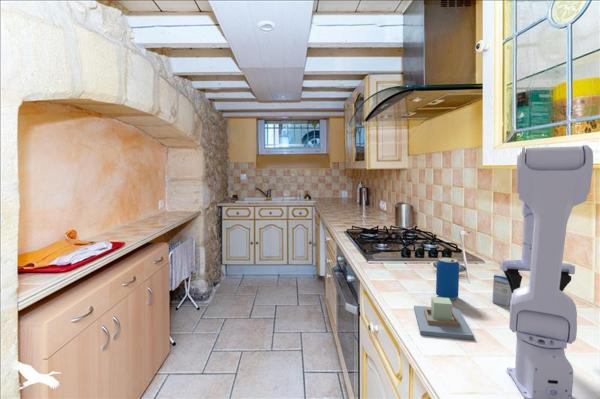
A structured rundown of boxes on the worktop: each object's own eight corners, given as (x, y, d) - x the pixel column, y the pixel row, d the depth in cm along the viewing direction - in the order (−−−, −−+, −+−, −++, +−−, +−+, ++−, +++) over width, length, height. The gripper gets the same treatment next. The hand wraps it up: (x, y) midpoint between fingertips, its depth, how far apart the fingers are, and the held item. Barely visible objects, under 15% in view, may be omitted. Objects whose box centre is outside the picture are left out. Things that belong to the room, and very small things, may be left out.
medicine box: (497, 295, 110) (498, 269, 109) (513, 298, 107) (514, 271, 106) (492, 303, 104) (493, 274, 103) (509, 306, 101) (510, 277, 100)
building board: (473, 339, 81) (474, 331, 81) (420, 334, 84) (420, 326, 84) (458, 312, 97) (458, 305, 97) (414, 308, 100) (414, 302, 99)
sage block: (451, 323, 88) (452, 304, 87) (433, 321, 89) (433, 302, 88) (448, 316, 92) (449, 297, 92) (430, 314, 93) (431, 296, 93)
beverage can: (460, 301, 105) (461, 262, 104) (437, 300, 106) (439, 261, 105) (455, 294, 111) (456, 257, 110) (434, 292, 113) (435, 256, 112)
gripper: (564, 241, 81) (561, 298, 82) (496, 239, 84) (494, 293, 85) (581, 248, 74) (577, 309, 75) (506, 245, 77) (504, 304, 78)
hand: (534, 302), depth 80 cm, fingers open, 7 cm apart
